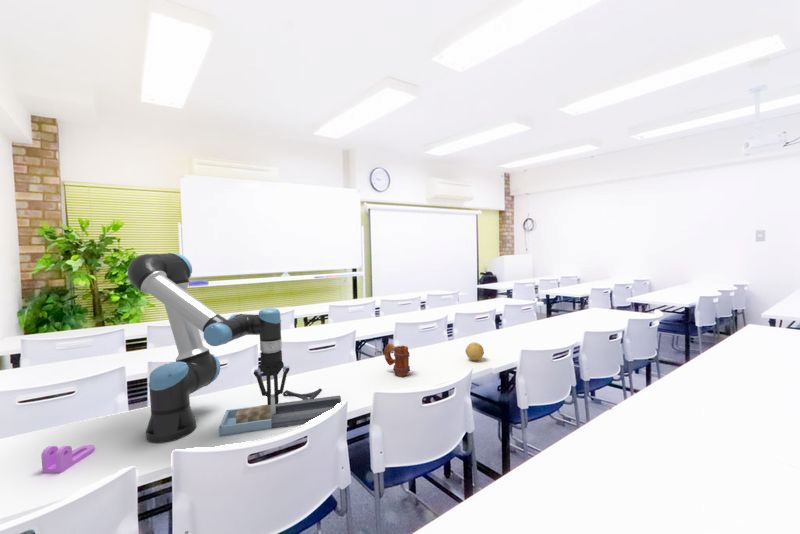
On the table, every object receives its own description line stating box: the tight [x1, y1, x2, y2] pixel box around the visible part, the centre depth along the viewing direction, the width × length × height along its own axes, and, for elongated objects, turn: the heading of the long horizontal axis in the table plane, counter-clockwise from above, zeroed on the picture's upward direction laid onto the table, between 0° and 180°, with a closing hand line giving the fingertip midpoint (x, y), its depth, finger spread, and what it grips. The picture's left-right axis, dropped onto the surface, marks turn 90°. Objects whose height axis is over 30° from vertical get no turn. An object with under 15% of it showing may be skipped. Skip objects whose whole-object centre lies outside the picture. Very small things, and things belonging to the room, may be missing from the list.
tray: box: [218, 405, 273, 437], centre depth 134 cm, size 17×14×3 cm
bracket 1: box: [40, 444, 96, 474], centre depth 112 cm, size 13×6×7 cm, turn 179°
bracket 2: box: [282, 388, 323, 400], centre depth 158 cm, size 14×15×3 cm
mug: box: [383, 343, 411, 377], centre depth 184 cm, size 15×8×15 cm, turn 58°
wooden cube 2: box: [248, 406, 260, 422], centre depth 134 cm, size 4×4×4 cm
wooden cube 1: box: [236, 410, 248, 424], centre depth 133 cm, size 4×4×4 cm
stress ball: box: [465, 342, 485, 362], centre depth 203 cm, size 10×10×10 cm
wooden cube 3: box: [259, 404, 272, 420], centre depth 135 cm, size 4×4×4 cm
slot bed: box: [271, 395, 342, 430], centre depth 140 cm, size 26×14×4 cm, turn 106°
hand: (273, 412), depth 136 cm, fingers closed
